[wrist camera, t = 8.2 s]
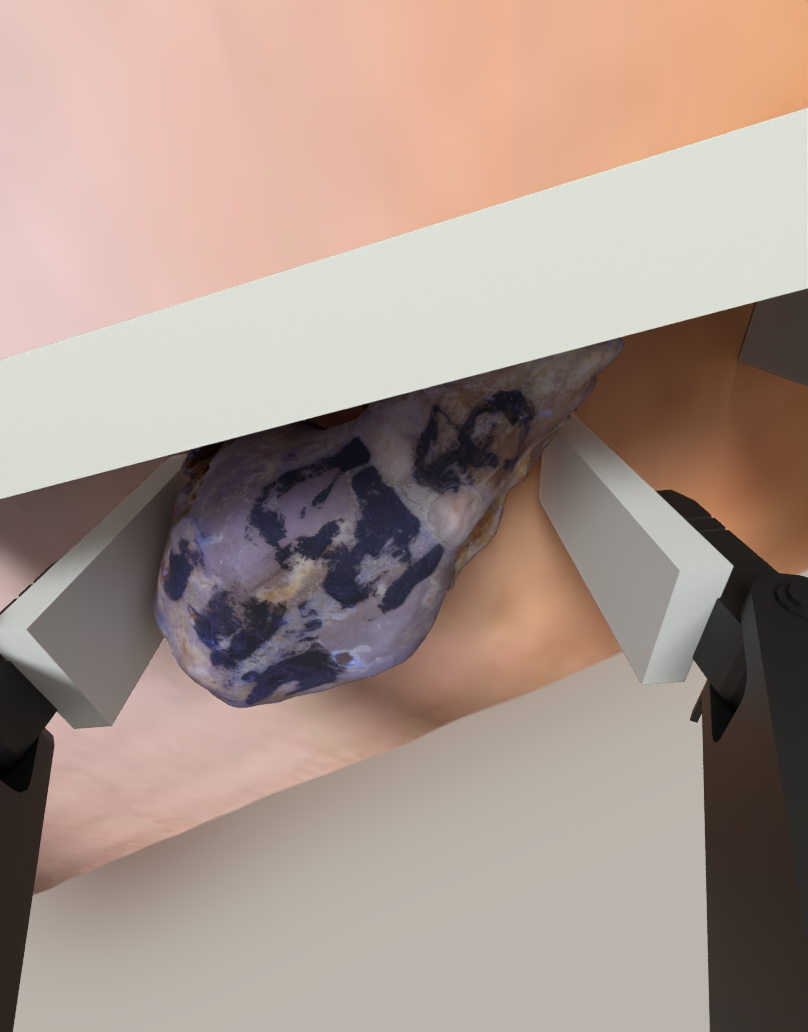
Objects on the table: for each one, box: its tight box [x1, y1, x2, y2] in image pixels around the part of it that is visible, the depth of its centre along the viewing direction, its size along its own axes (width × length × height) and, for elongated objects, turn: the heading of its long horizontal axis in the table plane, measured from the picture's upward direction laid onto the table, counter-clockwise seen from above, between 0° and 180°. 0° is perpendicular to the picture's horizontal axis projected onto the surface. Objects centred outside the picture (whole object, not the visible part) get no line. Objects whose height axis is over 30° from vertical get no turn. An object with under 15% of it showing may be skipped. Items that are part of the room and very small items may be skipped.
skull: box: [153, 337, 624, 708], centre depth 10 cm, size 12×8×6 cm, turn 124°
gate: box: [0, 108, 808, 499], centre depth 7 cm, size 22×2×8 cm, turn 104°
